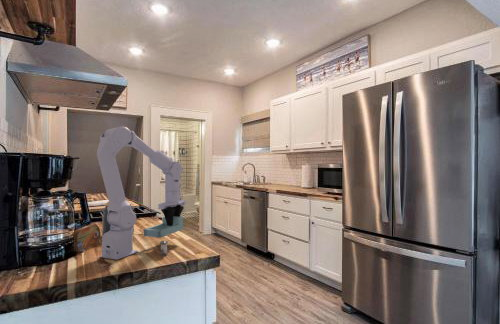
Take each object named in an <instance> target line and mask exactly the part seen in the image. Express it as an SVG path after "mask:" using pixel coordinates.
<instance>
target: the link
mask: <svg viewBox="0 0 500 324" xmlns="http://www.w3.org/2000/svg"><path fill="white" fill-rule="evenodd" d="M161 220H162V223H159V224H156V225H153V226H151V227H150V226H149V227H147V228H144V229H143V237H150V238H165V237H166V236H169V235H171V234H175V233H177V232H181V231H182V230H184V216H180V217H178V216H173V225H172V226H167V223H166V219H165V216H162V219H161Z"/></svg>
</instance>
